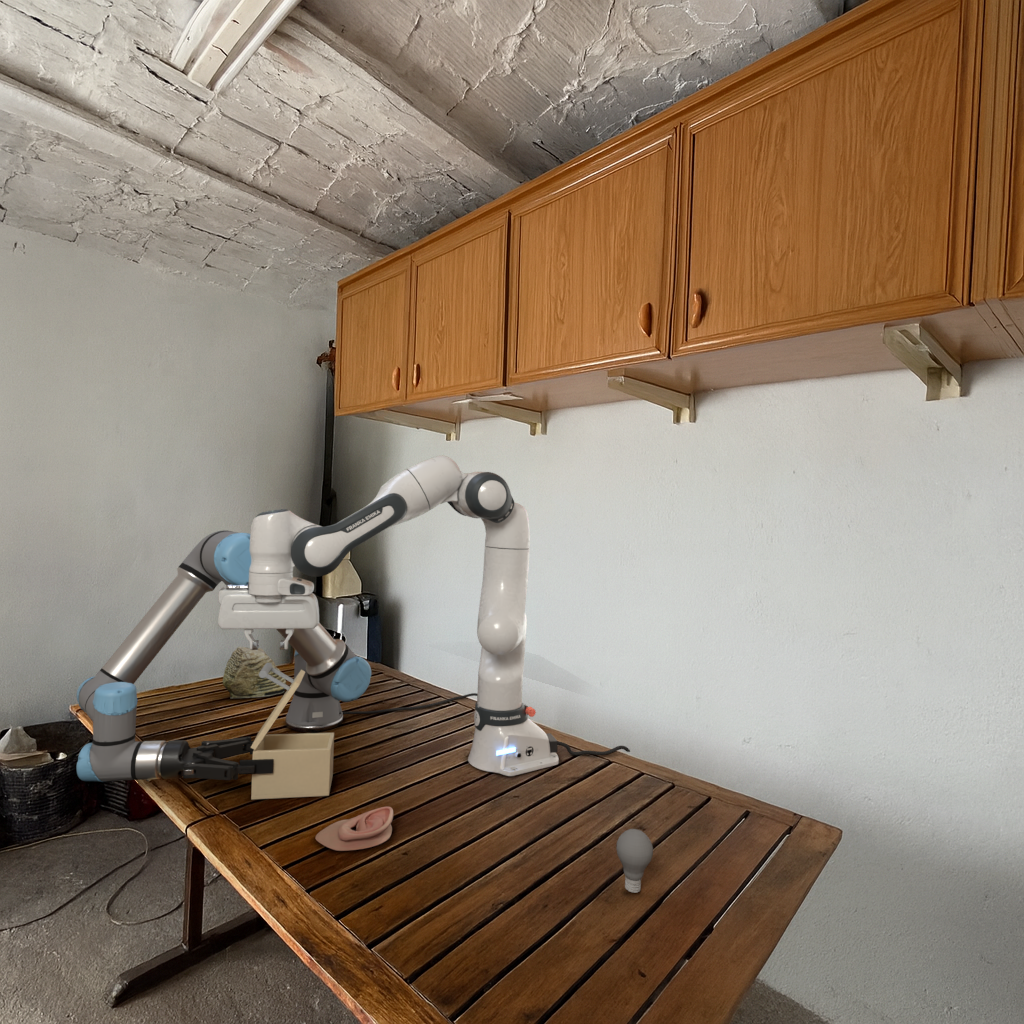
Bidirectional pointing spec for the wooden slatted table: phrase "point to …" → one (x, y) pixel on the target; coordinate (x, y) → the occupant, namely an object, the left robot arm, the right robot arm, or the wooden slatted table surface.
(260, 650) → the fossil
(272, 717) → the lid
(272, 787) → the chest
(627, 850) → the light bulb
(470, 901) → the wooden slatted table surface
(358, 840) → the anatomical model
